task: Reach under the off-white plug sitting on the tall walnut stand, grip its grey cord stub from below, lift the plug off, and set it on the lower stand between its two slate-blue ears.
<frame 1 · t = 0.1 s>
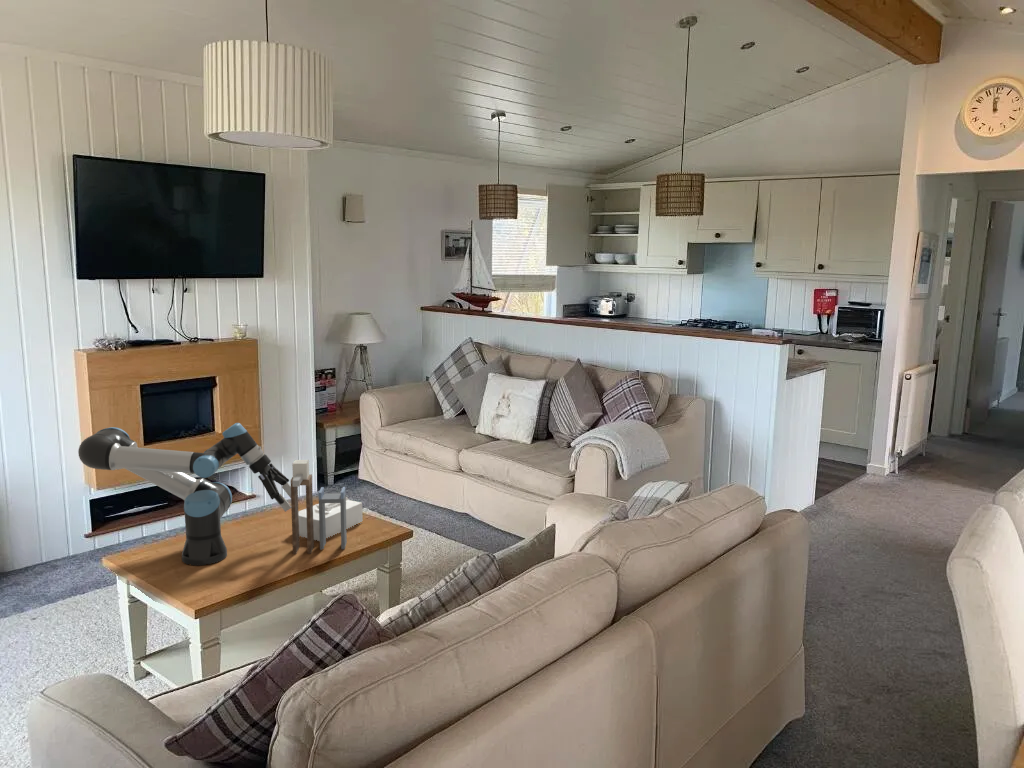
hand: (292, 503, 291), 15 cm above the table, tool tilted 35°, fingers open, 13 cm apart
short stand: (333, 546, 290), on the table
tissue box: (328, 529, 309), on the table
plug: (301, 477, 280), point 28 cm above the table, touching tall stand
tall stand: (303, 550, 286), on the table
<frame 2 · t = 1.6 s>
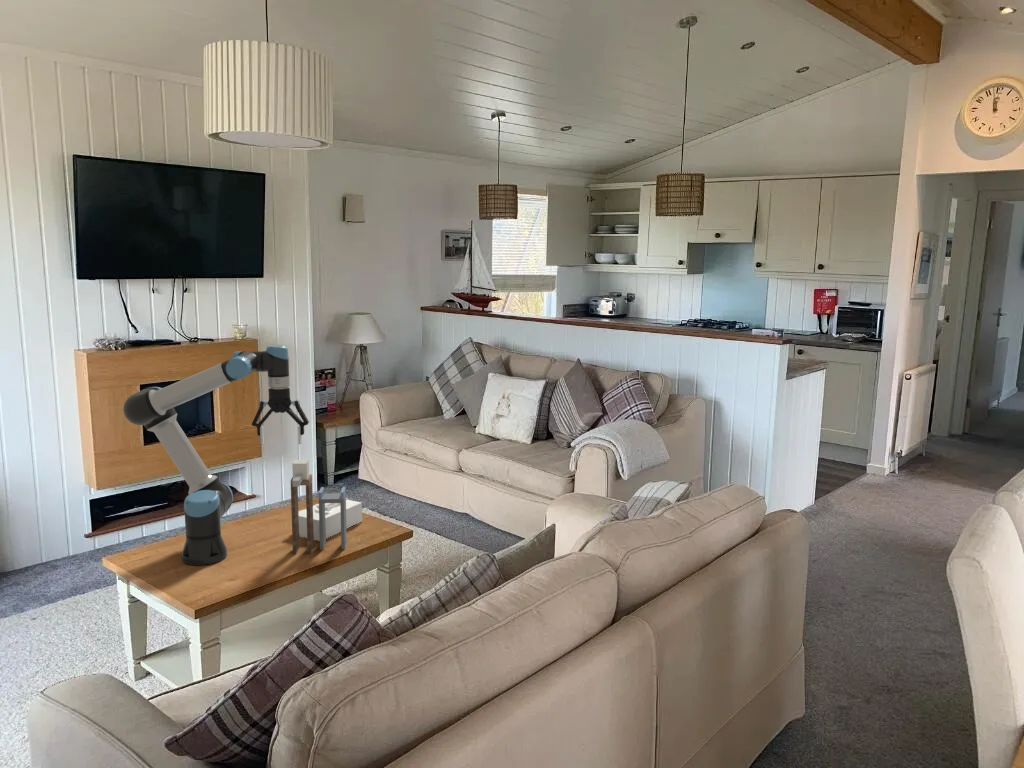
hand: (281, 443, 286), 39 cm above the table, tool pointing down, fingers open, 13 cm apart
nothing on the table moved.
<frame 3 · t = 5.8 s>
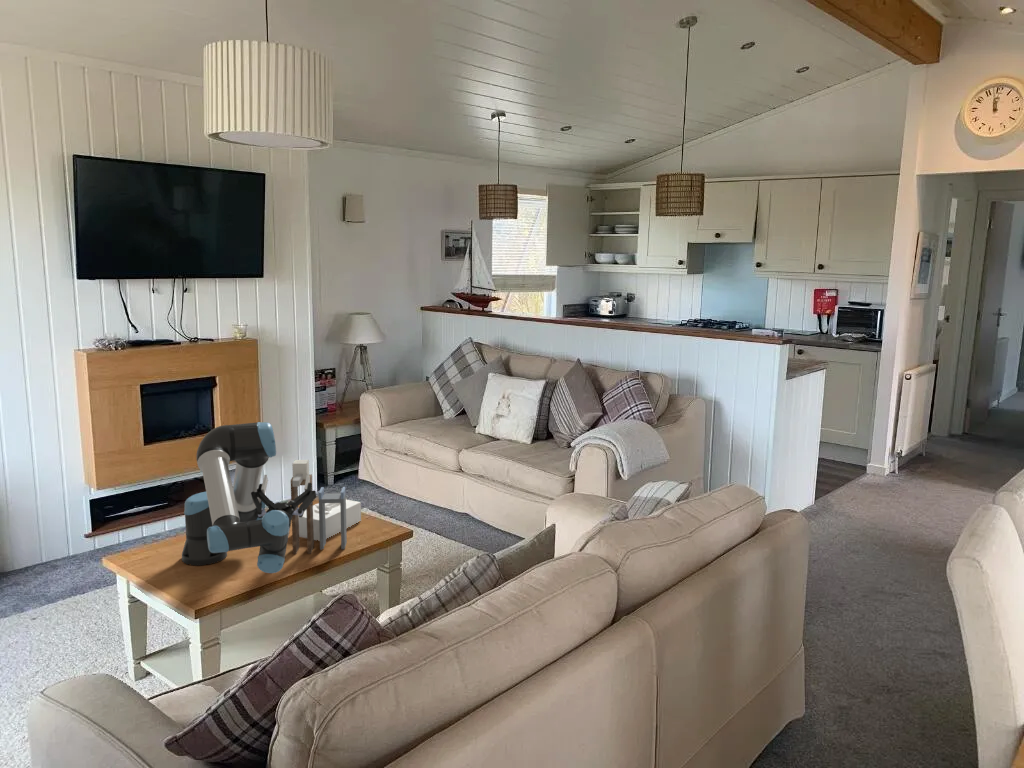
hand: (287, 477, 254), 36 cm above the table, tool pointing upward, fingers open, 13 cm apart
nothing on the table moved.
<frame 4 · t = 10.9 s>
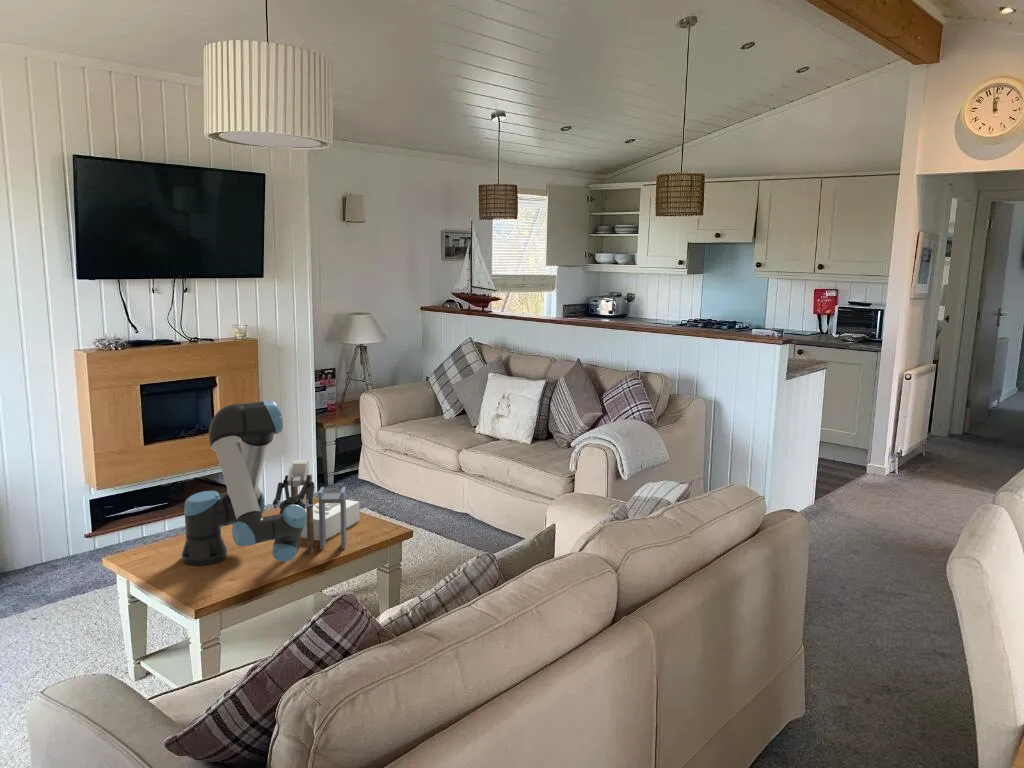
hand: (299, 469, 277), 32 cm above the table, tool pointing upward, fingers closed on plug, 5 cm apart
plug: (301, 477, 280), point 28 cm above the table, touching gripper, tall stand
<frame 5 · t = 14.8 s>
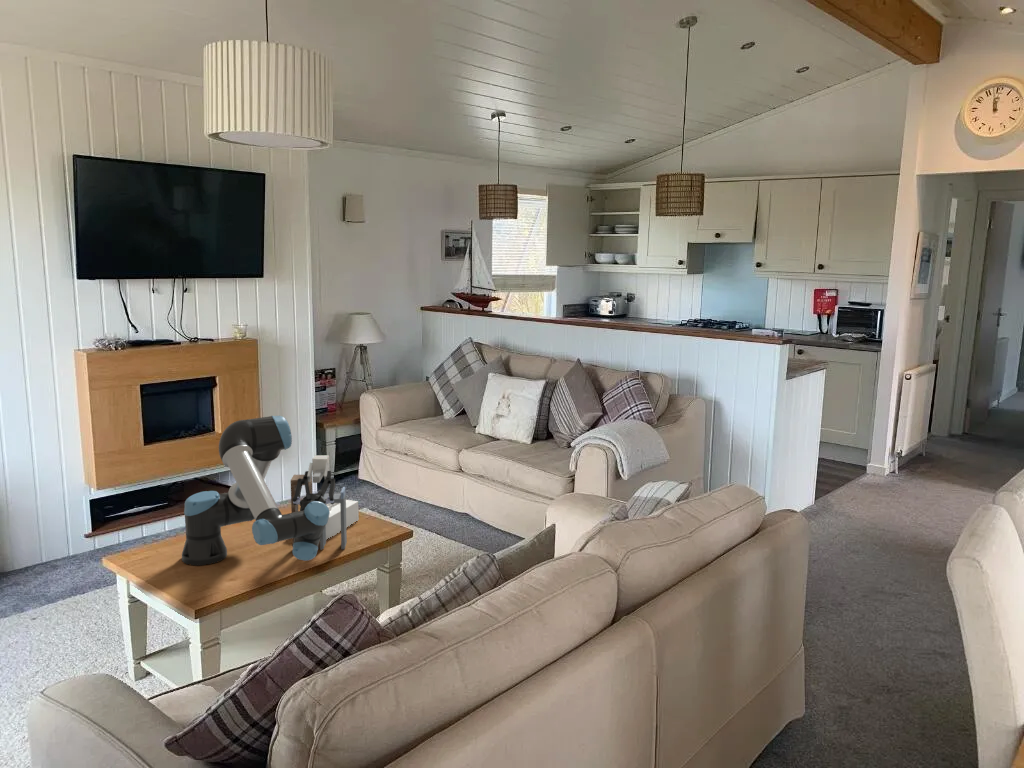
hand: (319, 465, 267), 36 cm above the table, tool pointing upward, fingers closed on plug, 5 cm apart
plug: (321, 473, 270), point 32 cm above the table, touching gripper
when the fingers open (25 cm above the table, at t = 19.2 s): plug drops 2 cm, resting on short stand.
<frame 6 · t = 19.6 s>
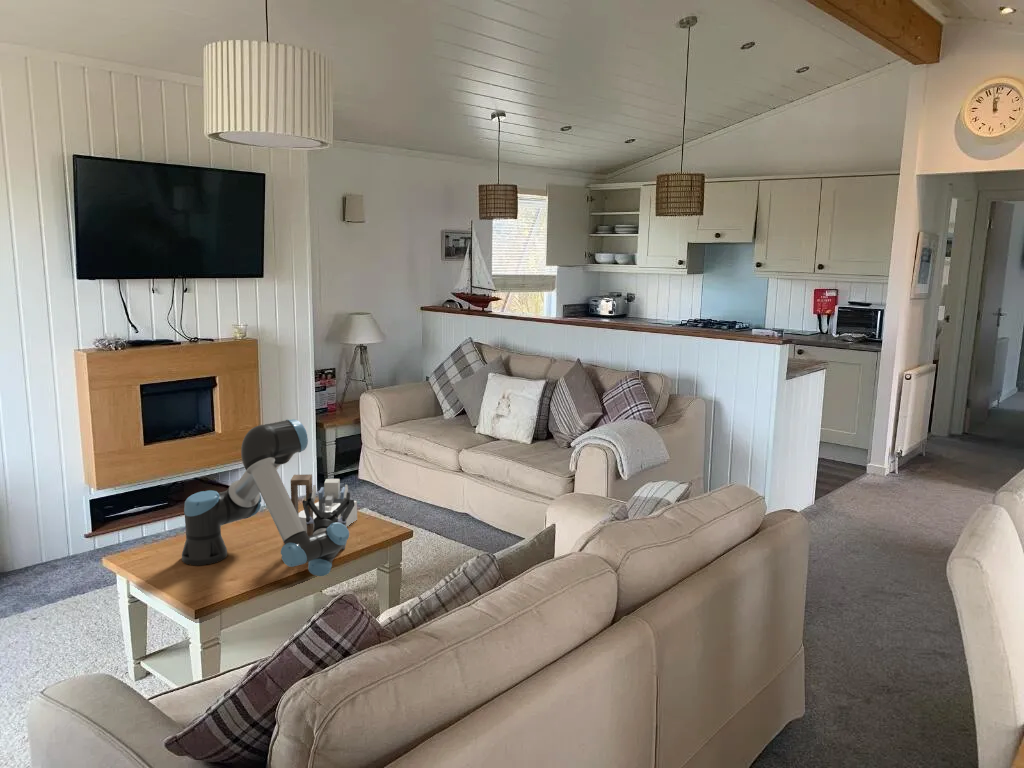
hand: (330, 487, 282), 24 cm above the table, tool pointing upward, fingers open, 11 cm apart
plug: (332, 496, 287), point 19 cm above the table, touching short stand
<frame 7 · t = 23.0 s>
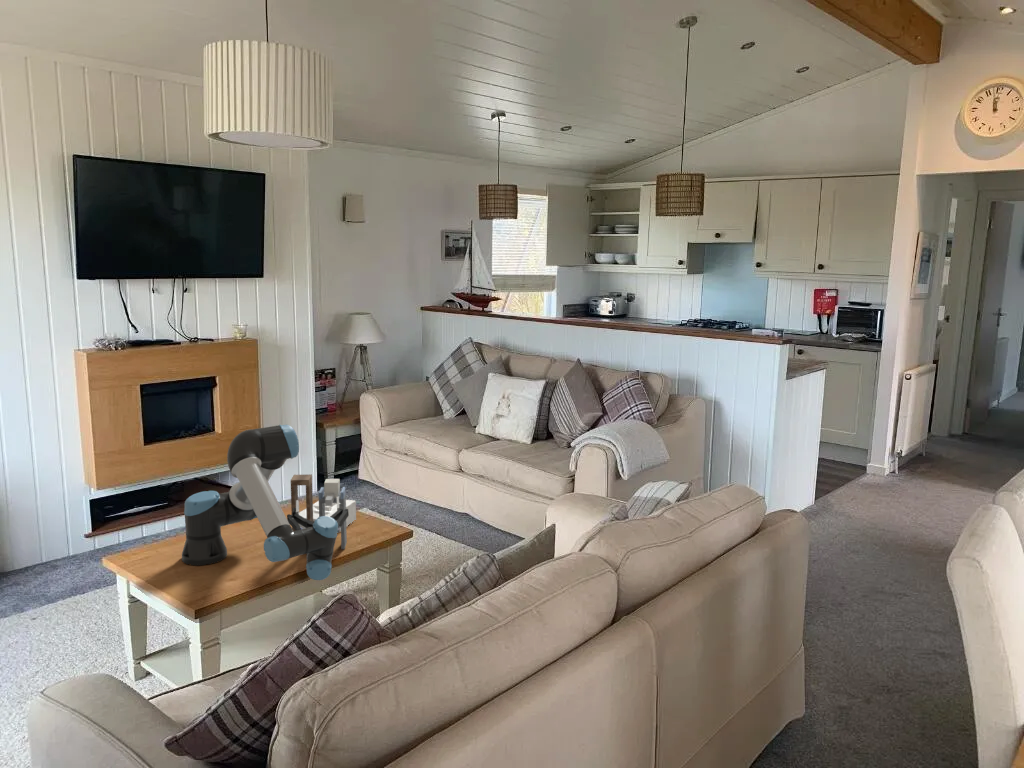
hand: (317, 501, 269), 23 cm above the table, tool pointing upward, fingers open, 13 cm apart
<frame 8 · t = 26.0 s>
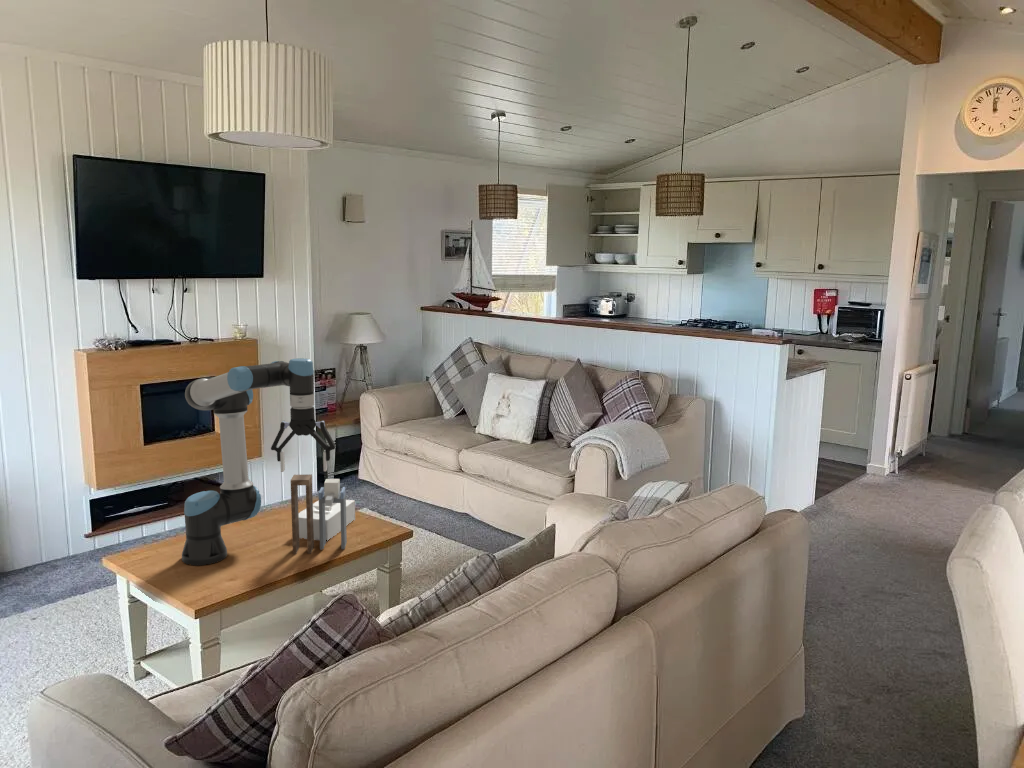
hand: (304, 470, 251), 39 cm above the table, tool pointing down, fingers open, 13 cm apart
at the end: plug 0.3 cm off-centre on the short stand, point 19.5 cm above the short stand's base; the gripper is holding nothing; plug tilted 0° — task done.
